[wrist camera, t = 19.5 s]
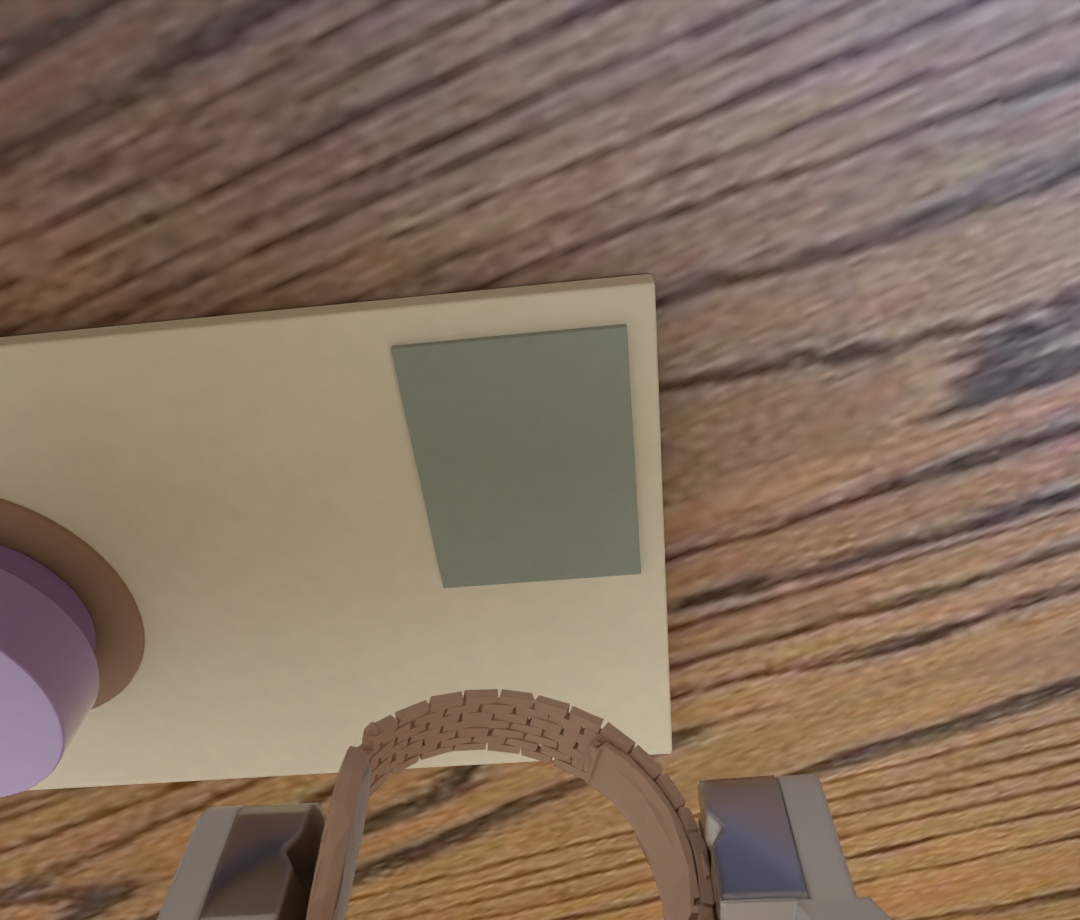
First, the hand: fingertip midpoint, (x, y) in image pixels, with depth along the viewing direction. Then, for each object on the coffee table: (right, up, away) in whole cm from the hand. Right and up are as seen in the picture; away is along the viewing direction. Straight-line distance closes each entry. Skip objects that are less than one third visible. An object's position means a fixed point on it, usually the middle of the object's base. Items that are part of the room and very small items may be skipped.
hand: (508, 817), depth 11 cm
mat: (-8, +2, +10) cm, 13 cm away
